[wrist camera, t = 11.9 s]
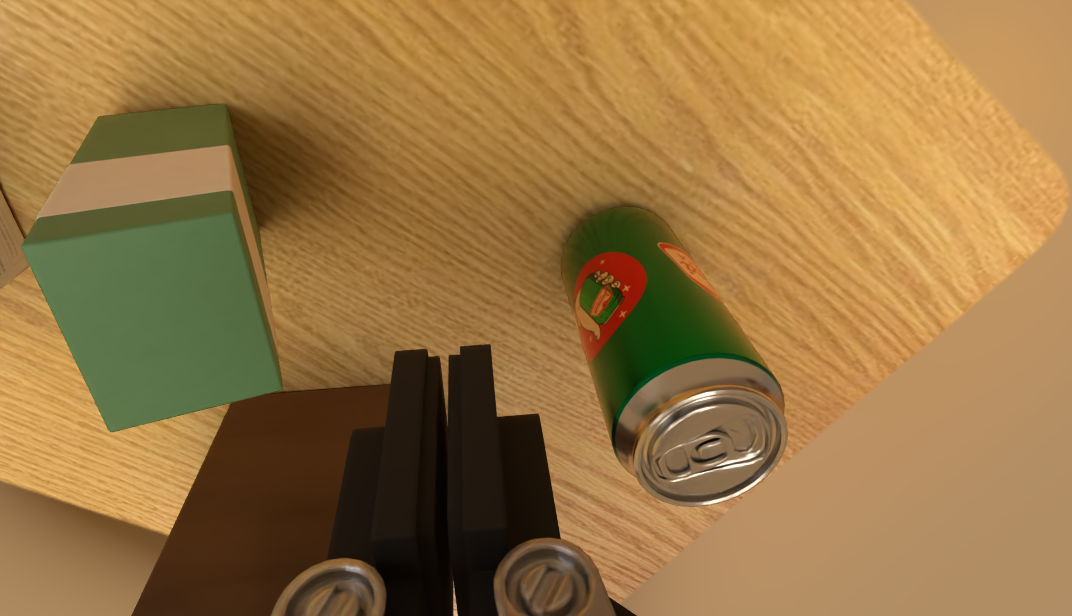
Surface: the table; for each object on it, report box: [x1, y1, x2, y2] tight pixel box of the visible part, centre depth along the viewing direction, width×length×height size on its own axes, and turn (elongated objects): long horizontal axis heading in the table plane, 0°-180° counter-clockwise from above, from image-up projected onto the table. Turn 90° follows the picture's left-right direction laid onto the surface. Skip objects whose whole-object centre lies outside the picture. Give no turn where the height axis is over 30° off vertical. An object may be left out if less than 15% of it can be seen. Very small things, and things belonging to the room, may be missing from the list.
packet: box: [21, 104, 283, 432], centre depth 19 cm, size 11×5×4 cm
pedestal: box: [132, 384, 391, 616], centre depth 25 cm, size 8×8×16 cm
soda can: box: [561, 207, 788, 507], centre depth 22 cm, size 5×5×12 cm
